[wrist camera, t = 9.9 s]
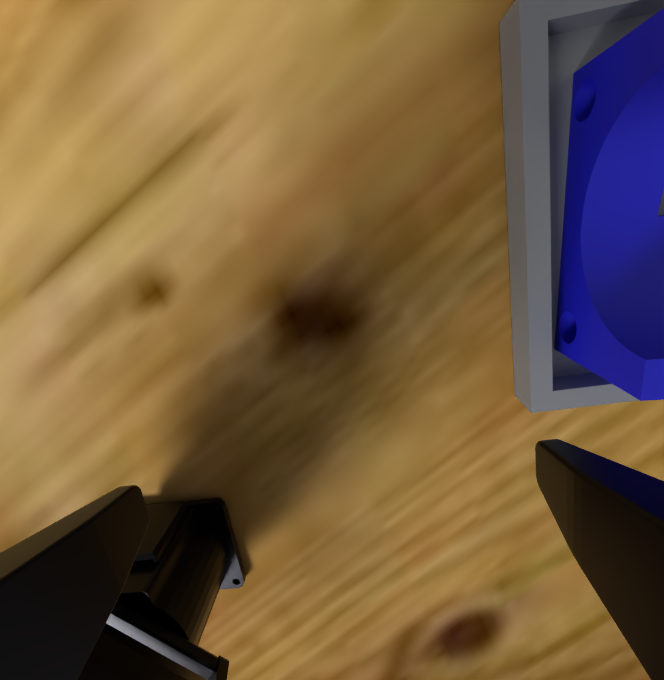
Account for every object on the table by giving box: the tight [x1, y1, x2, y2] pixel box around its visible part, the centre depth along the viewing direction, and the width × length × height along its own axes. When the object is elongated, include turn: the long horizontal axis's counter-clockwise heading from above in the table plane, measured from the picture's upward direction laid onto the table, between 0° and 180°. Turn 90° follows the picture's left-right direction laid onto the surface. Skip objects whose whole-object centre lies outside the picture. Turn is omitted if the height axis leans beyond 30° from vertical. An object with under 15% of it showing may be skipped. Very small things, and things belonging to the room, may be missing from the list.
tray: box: [499, 0, 664, 413], centre depth 17 cm, size 17×9×2 cm, turn 10°
